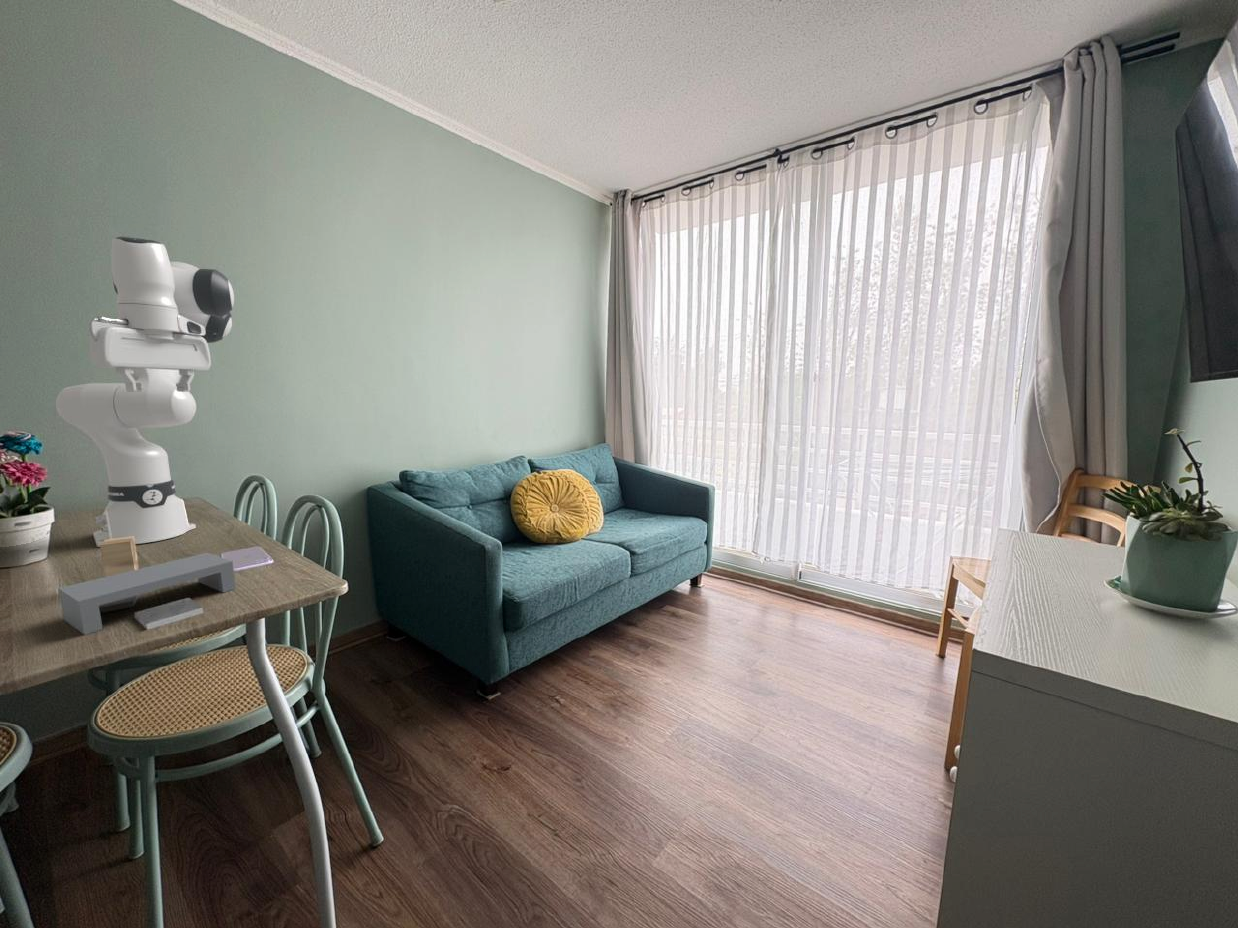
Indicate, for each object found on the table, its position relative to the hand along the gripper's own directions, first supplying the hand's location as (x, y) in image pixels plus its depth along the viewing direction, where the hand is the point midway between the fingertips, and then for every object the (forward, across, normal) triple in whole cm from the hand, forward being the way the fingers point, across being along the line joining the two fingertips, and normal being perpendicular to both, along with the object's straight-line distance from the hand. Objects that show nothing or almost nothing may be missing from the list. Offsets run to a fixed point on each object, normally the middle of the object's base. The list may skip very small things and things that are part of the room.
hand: (160, 391), depth 99 cm
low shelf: (+37, -17, -15) cm, 44 cm away
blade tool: (+37, -16, -4) cm, 40 cm away
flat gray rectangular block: (+38, -21, -22) cm, 48 cm away
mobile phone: (+38, +5, -10) cm, 39 cm away
